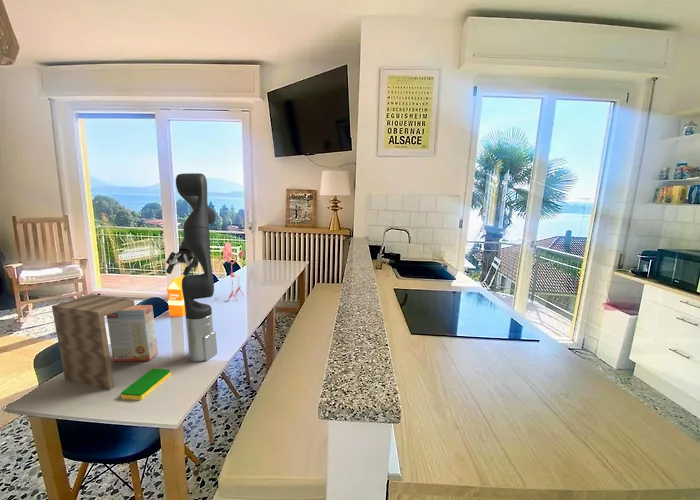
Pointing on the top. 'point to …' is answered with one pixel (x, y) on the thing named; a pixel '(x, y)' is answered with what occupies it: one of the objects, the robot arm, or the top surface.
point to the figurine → (227, 256)
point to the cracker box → (133, 334)
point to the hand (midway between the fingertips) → (176, 274)
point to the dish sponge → (145, 384)
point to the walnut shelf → (86, 338)
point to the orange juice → (176, 297)
